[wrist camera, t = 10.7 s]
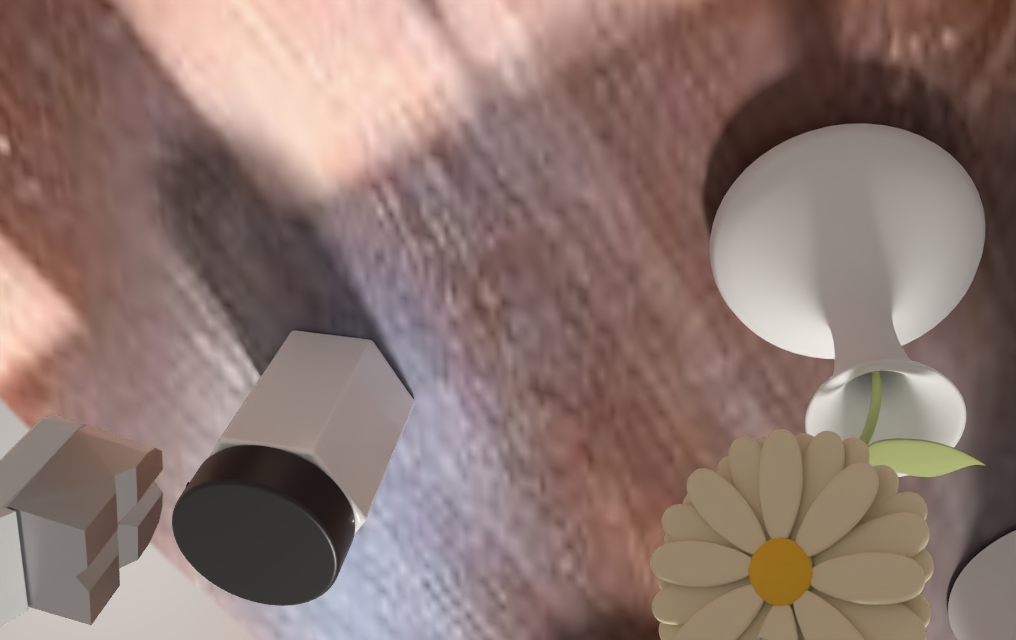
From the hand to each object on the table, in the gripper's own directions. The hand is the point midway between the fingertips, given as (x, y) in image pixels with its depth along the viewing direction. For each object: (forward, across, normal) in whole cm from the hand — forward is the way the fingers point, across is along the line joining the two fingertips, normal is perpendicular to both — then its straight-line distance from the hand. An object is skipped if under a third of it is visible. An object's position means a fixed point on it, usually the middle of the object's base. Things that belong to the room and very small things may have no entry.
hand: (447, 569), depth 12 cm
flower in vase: (+32, -11, +8) cm, 35 cm away
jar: (+32, +10, +26) cm, 42 cm away
